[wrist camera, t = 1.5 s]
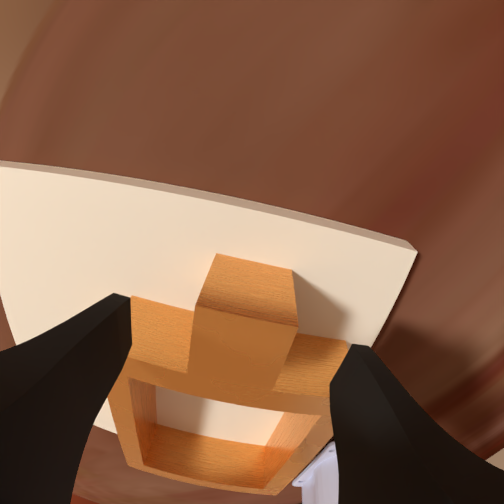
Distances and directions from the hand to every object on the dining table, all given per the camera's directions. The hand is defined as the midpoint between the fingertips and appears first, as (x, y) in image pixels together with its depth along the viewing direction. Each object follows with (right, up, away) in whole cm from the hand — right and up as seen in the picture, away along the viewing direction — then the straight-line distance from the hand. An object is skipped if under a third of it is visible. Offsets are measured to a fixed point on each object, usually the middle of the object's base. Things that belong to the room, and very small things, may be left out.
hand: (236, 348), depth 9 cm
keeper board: (-5, -3, +7) cm, 9 cm away
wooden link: (-1, -4, +6) cm, 7 cm away
